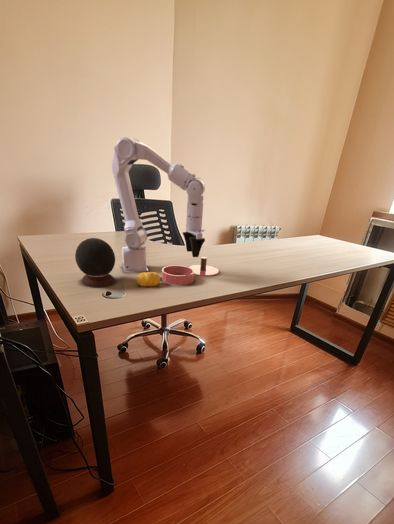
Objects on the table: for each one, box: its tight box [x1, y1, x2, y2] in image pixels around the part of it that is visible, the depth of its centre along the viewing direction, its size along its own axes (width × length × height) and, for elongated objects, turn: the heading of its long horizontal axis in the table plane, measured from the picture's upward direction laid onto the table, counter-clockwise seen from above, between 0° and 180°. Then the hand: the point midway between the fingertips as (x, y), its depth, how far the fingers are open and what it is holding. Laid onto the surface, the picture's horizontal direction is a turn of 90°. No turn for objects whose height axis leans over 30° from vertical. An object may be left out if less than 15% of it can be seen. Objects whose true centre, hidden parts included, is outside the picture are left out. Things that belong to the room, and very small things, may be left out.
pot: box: [161, 264, 195, 286], centre depth 115 cm, size 12×12×4 cm
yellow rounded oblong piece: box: [136, 271, 163, 288], centre depth 108 cm, size 9×5×5 cm, turn 108°
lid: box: [188, 256, 220, 277], centre depth 125 cm, size 13×13×6 cm
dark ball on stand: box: [74, 237, 116, 288], centre depth 106 cm, size 13×13×15 cm
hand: (192, 254), depth 117 cm, fingers open, 7 cm apart
